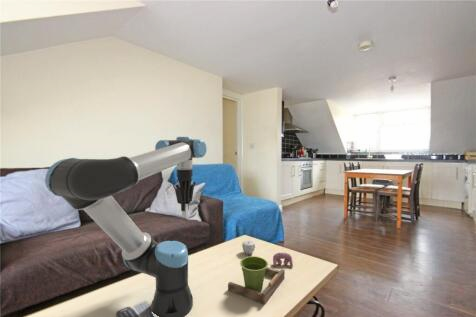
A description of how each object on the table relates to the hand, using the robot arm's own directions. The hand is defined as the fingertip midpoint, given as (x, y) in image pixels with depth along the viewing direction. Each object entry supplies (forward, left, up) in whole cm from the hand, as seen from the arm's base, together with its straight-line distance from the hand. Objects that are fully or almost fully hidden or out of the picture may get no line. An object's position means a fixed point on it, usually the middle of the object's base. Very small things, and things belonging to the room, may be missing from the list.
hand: (185, 217), depth 112 cm
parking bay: (+8, -35, -26) cm, 45 cm away
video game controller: (+30, -39, -27) cm, 56 cm away
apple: (+33, -17, -27) cm, 46 cm away
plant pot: (+4, -35, -27) cm, 45 cm away
